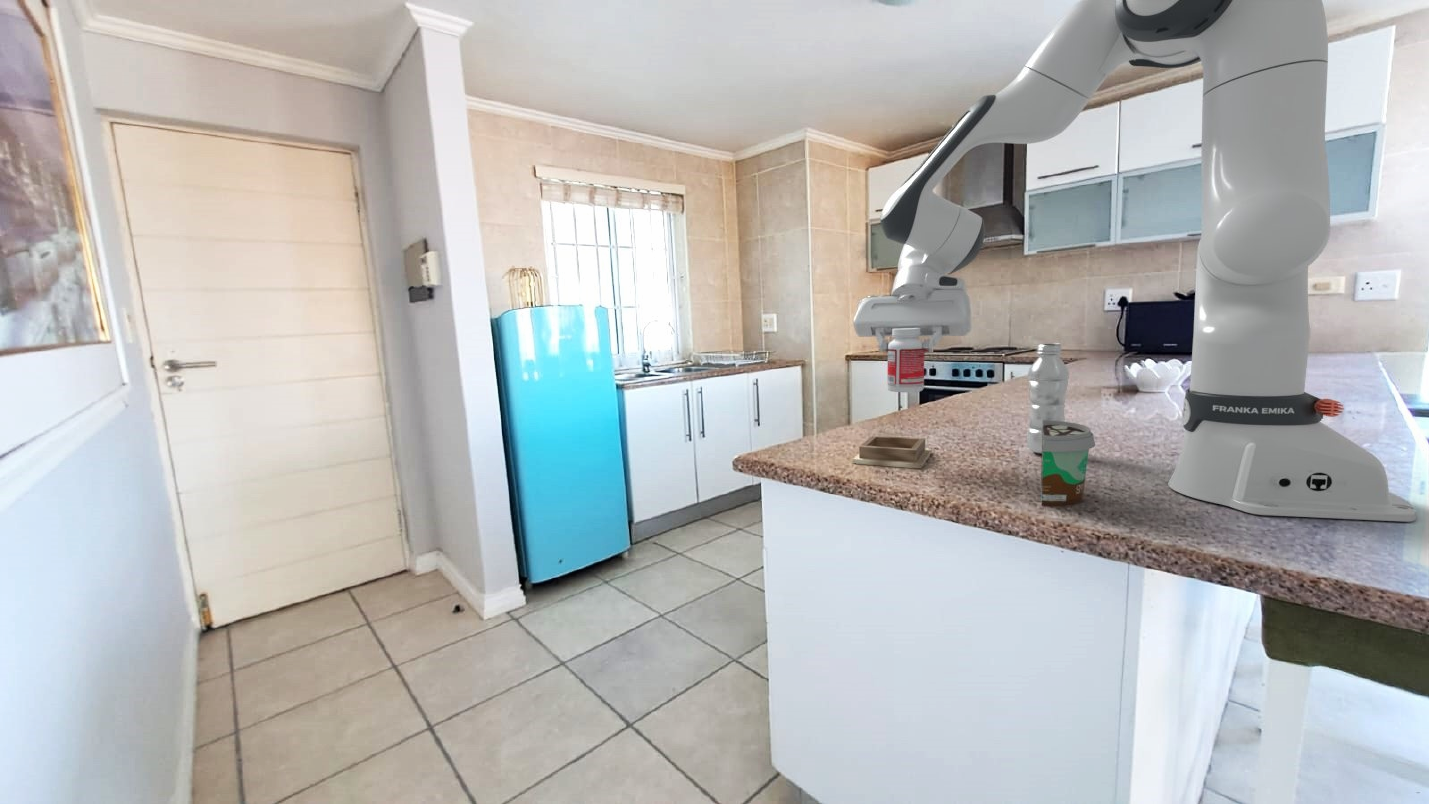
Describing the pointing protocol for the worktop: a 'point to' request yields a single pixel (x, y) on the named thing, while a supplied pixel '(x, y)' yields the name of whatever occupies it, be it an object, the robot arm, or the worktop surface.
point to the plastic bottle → (1046, 392)
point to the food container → (1064, 462)
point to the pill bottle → (905, 361)
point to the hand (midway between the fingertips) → (905, 350)
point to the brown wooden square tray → (893, 452)
